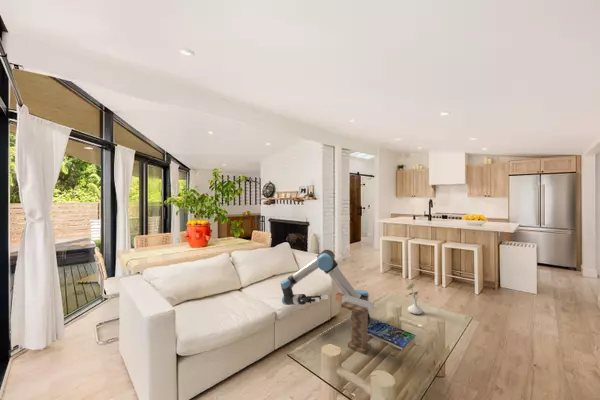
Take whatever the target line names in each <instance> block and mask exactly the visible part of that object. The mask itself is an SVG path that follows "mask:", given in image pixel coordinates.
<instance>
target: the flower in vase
mask: <svg viewBox="0 0 600 400" xmlns="http://www.w3.org/2000/svg"><path fill="white" fill-rule="evenodd" d="M414 287H415V283H413V282H412V283H409V284H408V285H407V286H406V290H412V292H410V293H408V295H409V296H412V299H413V304H412V305H410V306H408V307H407V311H408V312H409V313H411V314H413V315H421V314H422V313H423V309H422V308H421V307H420V306H419V305H418V304H417V302H418V298H419V297H420V296H419V295H418V294H419V292H418V291H415V292H414V290H413V288H414Z"/></svg>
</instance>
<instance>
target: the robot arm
mask: <svg viewBox="0 0 600 400" xmlns="http://www.w3.org/2000/svg"><path fill="white" fill-rule="evenodd" d="M335 258H336V257H335V254H334V252H333V251H332V250H330V249H324V250H322V251H321V252H320V253H318V255H316V257H315V258H314V259H313V260H311V261H310V262H309V263H307V264H306V265H304V266H303V267H302V268H300V269H299V270H297V271H296V272H294V273H293V274H292V275H288V277H287V279H285V278H284V279H283V280H280V288H281V290H282V294H283V295H282V297H281V303H282V305H285V306H292V305H293V306H295V305H296V306H300V305H301V306H302V305H303V306H304V305H306V304H307V303H309V304H312V303H320V302H321V300H330V297H329V296H330V295H327V294H326V295H322V294H320V295H306V294H305V293H298V294H296V293H295V294H294V292H293V288H294V286H296V284H298V283H299V282H300V281H302V280H303V279H305V278H307V277H308V276H309V275H310V274H312V273H313V272H315V271H317V270H318V269H319V270H321V271H323V272H324V273H325V274H326V275H329V277H330V278H331V279H332V281H333V282H334V284H335V285H336V286H337V288H338V289H339V290H340V293H343V294H345V295H349V296H352V297H356V298H359V299H362V300H366V301H369V296H370V295H369V292H368V291H367V290H364V289H354V287H353V286H352V284H351V283H350V282H349V280H348V279H347V277H346V276H345V274H344V273H342V271H341V269H340V268H339V263H338V262H337V261H336V259H335ZM350 320H351V321H352V313H351V314H350ZM370 322H371V315H370V311H369V310H368V324H369V323H370Z"/></svg>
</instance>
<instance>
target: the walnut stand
mask: <svg viewBox="0 0 600 400" xmlns="http://www.w3.org/2000/svg"><path fill="white" fill-rule="evenodd" d="M340 306H341V308H343V309H346V310H349V311H351V314H352V320H351V340H350V341H349V343H347V348H349V349H351V350H354V351H356V352H359V353H360V354H363V355H365V354H366V353H367V352H368V351H369V350H370V348H371V347H372V344H371V343H370V342H368V329H369V328H368V326H369V325H368V324H369V323H368V310H365V309H362V308H359V307H356V306H353V305H350V304H346V303H343V302H341V305H340Z"/></svg>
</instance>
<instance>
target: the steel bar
mask: <svg viewBox="0 0 600 400" xmlns="http://www.w3.org/2000/svg"><path fill="white" fill-rule="evenodd" d="M335 301H337V302H341V303H346V304H350V305H353V306H356V307H359V308H362V309H365V310H369V312H373V311H374V310H375V302H372V301H369V300H368V301H366V300H362V299H359V298H356V297H352V296H349V295H345V294H343V293H342V292H337V293H335Z"/></svg>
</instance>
